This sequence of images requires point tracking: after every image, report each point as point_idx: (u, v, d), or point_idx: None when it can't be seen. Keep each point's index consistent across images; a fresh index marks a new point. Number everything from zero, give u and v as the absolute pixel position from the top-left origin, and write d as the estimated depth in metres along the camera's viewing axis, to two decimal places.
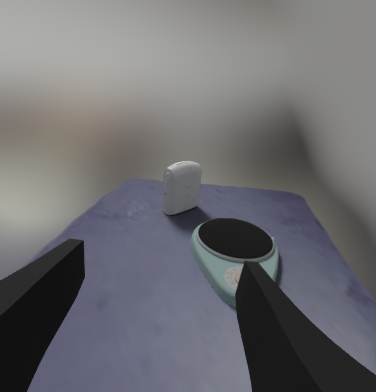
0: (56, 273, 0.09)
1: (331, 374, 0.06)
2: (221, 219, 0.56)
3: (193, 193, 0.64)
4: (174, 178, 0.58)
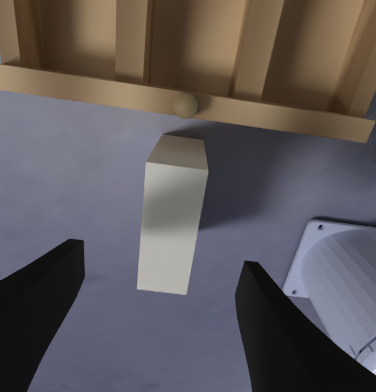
0: (56, 273, 0.09)
1: (331, 374, 0.06)
2: None
3: None
4: None
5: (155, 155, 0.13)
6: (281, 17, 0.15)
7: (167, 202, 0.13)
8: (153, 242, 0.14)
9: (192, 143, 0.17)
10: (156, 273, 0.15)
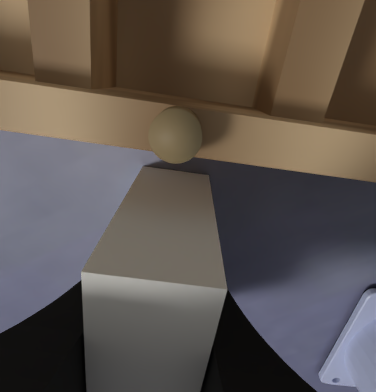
0: None
1: (240, 364, 0.06)
2: None
3: None
4: None
5: (113, 235, 0.06)
6: None
7: (136, 343, 0.06)
8: None
9: (191, 186, 0.10)
10: None
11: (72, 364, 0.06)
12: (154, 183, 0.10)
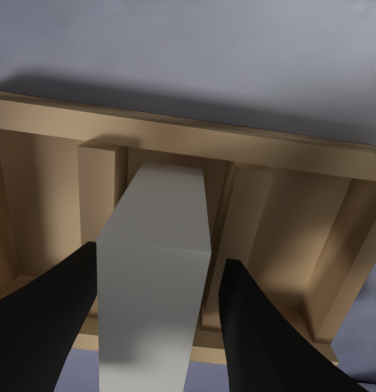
0: (79, 276, 0.09)
1: (297, 370, 0.06)
2: None
3: None
4: None
5: (120, 214, 0.08)
6: None
7: (139, 300, 0.07)
8: (120, 354, 0.08)
9: (186, 177, 0.12)
10: None
11: (13, 358, 0.06)
12: (154, 175, 0.11)
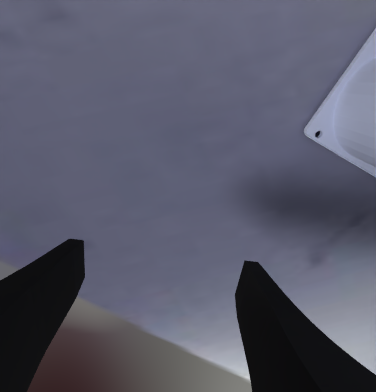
0: (56, 273, 0.09)
1: (331, 374, 0.06)
2: None
3: None
4: None
5: None
6: None
7: None
8: None
9: None
10: None
11: None
12: None
